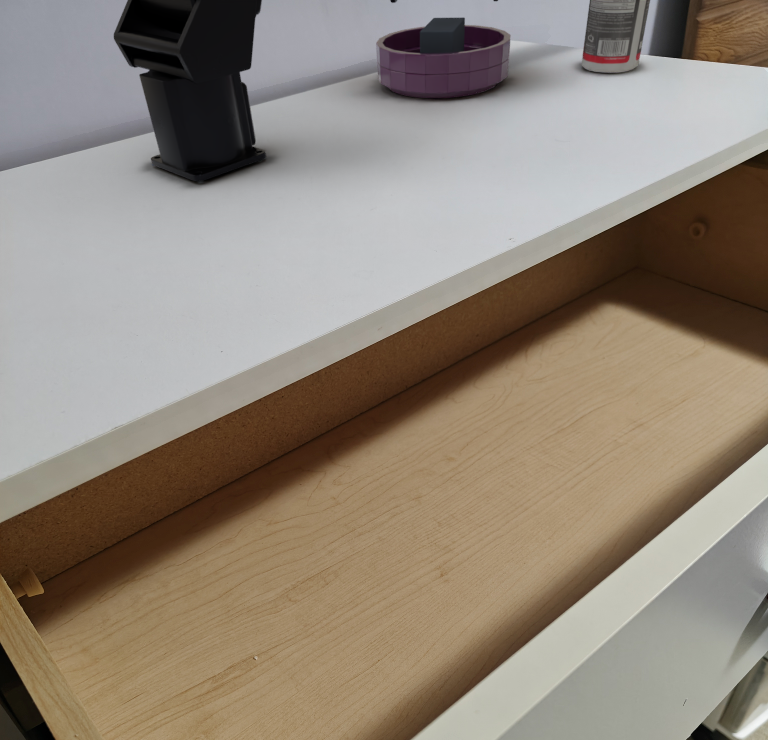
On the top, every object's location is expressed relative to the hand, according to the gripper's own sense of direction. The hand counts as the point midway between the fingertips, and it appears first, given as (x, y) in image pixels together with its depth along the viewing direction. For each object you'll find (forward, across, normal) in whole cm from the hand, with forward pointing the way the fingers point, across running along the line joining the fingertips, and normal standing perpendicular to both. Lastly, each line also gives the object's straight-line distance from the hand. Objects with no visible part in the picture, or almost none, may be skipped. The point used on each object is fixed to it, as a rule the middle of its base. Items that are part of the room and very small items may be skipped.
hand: (444, 1), depth 60 cm
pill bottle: (+6, +15, +6) cm, 18 cm away
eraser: (+6, 0, 0) cm, 6 cm away
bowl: (+6, 0, 0) cm, 6 cm away
